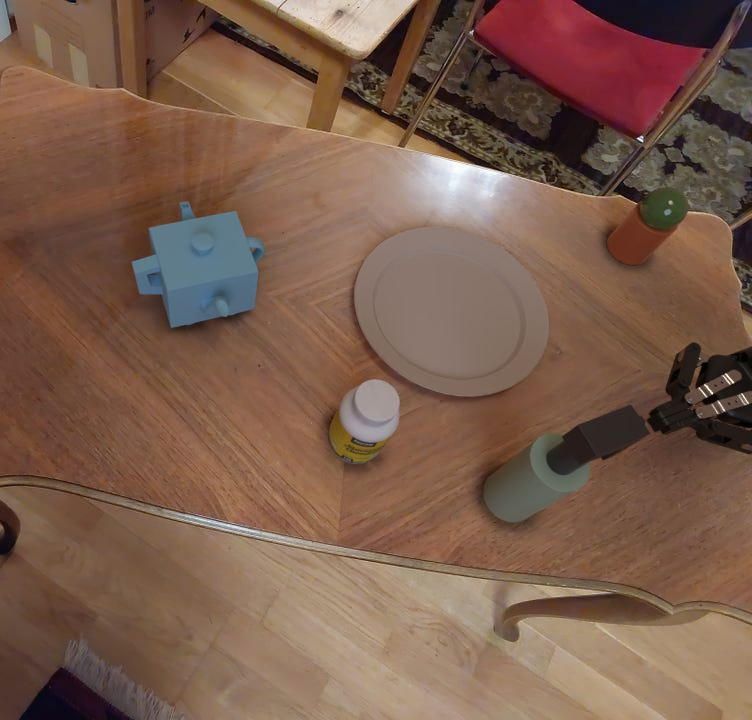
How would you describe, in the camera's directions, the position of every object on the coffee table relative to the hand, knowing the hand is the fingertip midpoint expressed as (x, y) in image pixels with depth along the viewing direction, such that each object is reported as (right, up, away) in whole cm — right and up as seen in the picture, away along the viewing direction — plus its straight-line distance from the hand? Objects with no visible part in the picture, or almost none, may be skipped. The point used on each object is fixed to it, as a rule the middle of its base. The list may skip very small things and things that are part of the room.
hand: (655, 423), depth 66 cm
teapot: (-48, +14, +18) cm, 53 cm away
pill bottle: (-29, -3, +11) cm, 31 cm away
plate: (-16, +12, +20) cm, 28 cm away
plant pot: (+12, +22, +28) cm, 38 cm away
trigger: (-5, -3, +1) cm, 6 cm away
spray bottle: (-10, -9, +10) cm, 17 cm away
